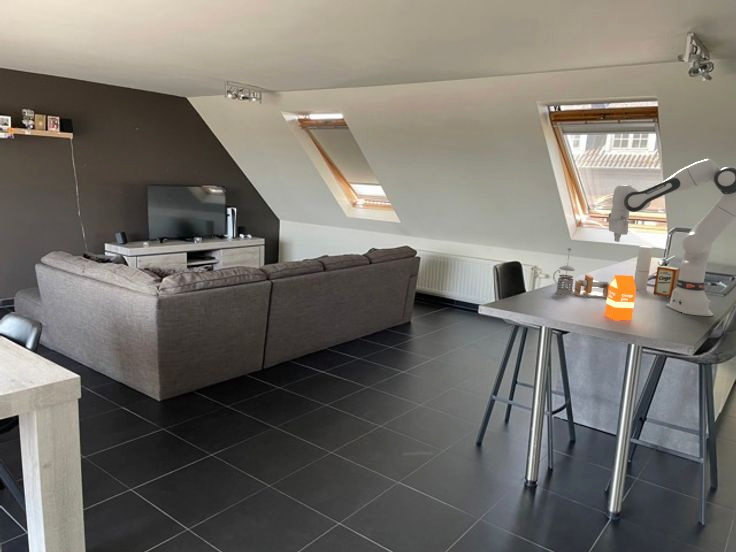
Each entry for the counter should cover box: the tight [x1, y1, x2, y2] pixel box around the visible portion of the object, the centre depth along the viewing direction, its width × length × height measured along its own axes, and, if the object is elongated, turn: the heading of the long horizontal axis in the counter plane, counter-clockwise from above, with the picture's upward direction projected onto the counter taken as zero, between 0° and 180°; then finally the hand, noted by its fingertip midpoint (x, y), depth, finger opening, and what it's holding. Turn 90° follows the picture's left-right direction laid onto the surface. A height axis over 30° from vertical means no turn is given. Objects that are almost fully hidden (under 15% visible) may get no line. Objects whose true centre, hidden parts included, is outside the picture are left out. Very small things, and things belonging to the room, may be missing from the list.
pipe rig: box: [572, 279, 610, 299], centre depth 295 cm, size 11×19×8 cm, turn 82°
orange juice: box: [604, 274, 637, 321], centre depth 246 cm, size 8×9×20 cm
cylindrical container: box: [634, 245, 654, 291], centre depth 317 cm, size 7×7×25 cm
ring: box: [582, 274, 594, 293], centre depth 295 cm, size 9×2×9 cm, turn 172°
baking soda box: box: [653, 265, 680, 298], centre depth 304 cm, size 10×6×16 cm
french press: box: [552, 247, 576, 296], centre depth 294 cm, size 10×12×25 cm
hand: (616, 241), depth 292 cm, fingers closed
